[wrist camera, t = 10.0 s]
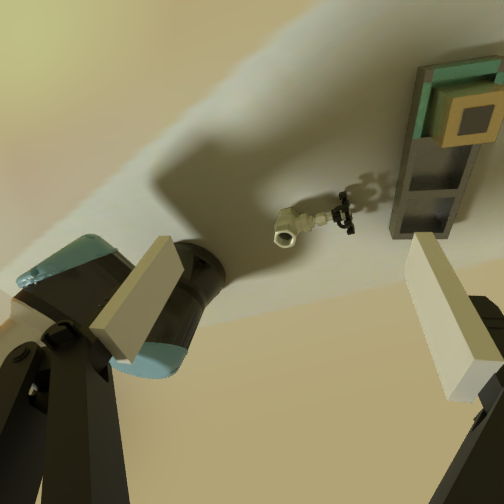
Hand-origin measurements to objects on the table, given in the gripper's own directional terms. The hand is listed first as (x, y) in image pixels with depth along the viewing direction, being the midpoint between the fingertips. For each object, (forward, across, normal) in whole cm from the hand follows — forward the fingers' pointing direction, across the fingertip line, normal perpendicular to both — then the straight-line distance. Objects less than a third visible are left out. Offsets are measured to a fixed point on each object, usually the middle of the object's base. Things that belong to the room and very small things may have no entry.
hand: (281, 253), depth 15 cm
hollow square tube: (+27, +17, 0) cm, 32 cm away
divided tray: (+28, +17, -6) cm, 33 cm away
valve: (+29, +1, -14) cm, 32 cm away
